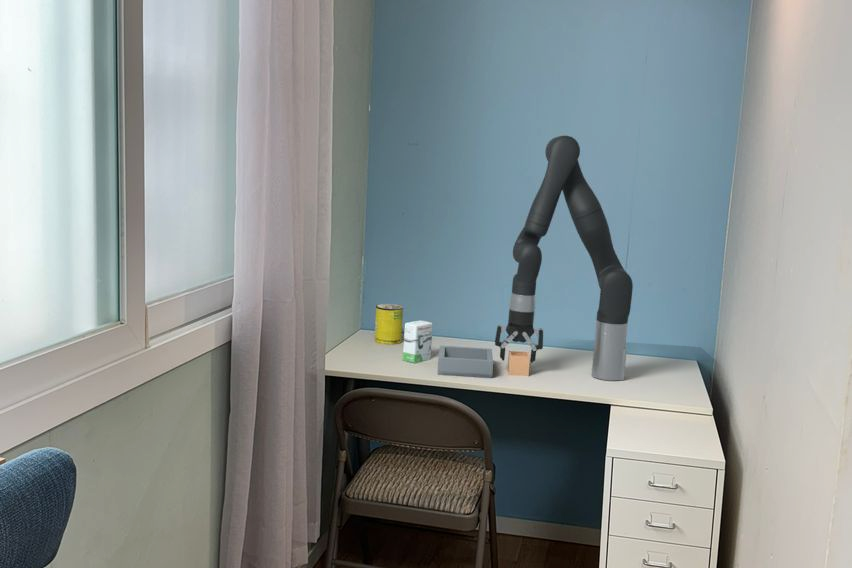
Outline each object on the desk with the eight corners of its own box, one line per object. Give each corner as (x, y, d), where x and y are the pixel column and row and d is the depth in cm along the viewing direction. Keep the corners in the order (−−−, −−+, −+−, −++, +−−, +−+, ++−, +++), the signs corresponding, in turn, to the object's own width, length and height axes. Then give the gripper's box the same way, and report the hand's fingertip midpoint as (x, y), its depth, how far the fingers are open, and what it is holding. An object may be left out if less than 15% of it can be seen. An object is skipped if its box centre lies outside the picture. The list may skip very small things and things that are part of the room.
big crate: (490, 364, 278) (491, 348, 277) (492, 378, 262) (493, 361, 261) (439, 361, 278) (440, 345, 278) (437, 374, 263) (438, 358, 262)
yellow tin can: (401, 339, 305) (403, 304, 303) (401, 345, 296) (402, 309, 294) (375, 337, 305) (376, 303, 303) (373, 343, 296) (375, 308, 294)
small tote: (527, 371, 273) (528, 352, 272) (528, 376, 267) (529, 357, 266) (507, 370, 273) (508, 350, 272) (508, 375, 267) (509, 355, 266)
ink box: (414, 363, 274) (416, 326, 272) (401, 360, 277) (403, 323, 275) (431, 359, 281) (433, 322, 279) (419, 356, 284) (421, 319, 282)
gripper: (545, 308, 270) (540, 360, 273) (497, 304, 271) (493, 356, 273) (546, 312, 263) (541, 366, 265) (498, 308, 263) (493, 362, 266)
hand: (517, 361), depth 269 cm, fingers open, 8 cm apart
